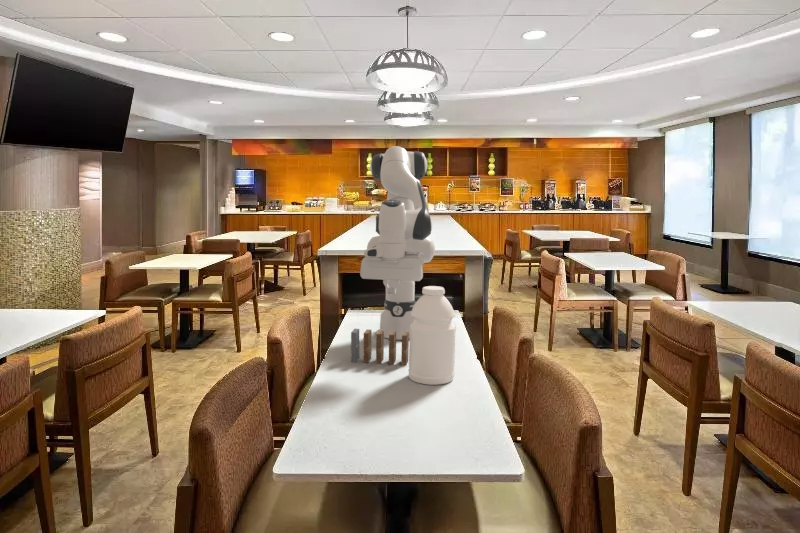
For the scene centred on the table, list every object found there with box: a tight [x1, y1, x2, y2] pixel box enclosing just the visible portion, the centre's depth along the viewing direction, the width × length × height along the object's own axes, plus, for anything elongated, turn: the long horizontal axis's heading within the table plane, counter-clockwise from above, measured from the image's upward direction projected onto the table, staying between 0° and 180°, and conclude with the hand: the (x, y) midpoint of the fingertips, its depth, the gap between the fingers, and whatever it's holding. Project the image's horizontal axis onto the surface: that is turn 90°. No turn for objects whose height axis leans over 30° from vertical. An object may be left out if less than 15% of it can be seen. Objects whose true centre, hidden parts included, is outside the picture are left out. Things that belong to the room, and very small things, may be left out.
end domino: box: [350, 328, 360, 363], centre depth 195 cm, size 2×5×10 cm, turn 171°
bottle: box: [408, 285, 457, 386], centre depth 177 cm, size 14×14×28 cm
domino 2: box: [375, 329, 385, 365], centre depth 193 cm, size 2×5×10 cm, turn 171°
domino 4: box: [400, 332, 410, 366], centre depth 192 cm, size 2×5×10 cm, turn 171°
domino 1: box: [362, 328, 372, 364], centre depth 194 cm, size 2×5×10 cm, turn 172°
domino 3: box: [388, 331, 397, 366], centre depth 193 cm, size 2×5×10 cm, turn 172°
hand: (391, 293), depth 190 cm, fingers closed
